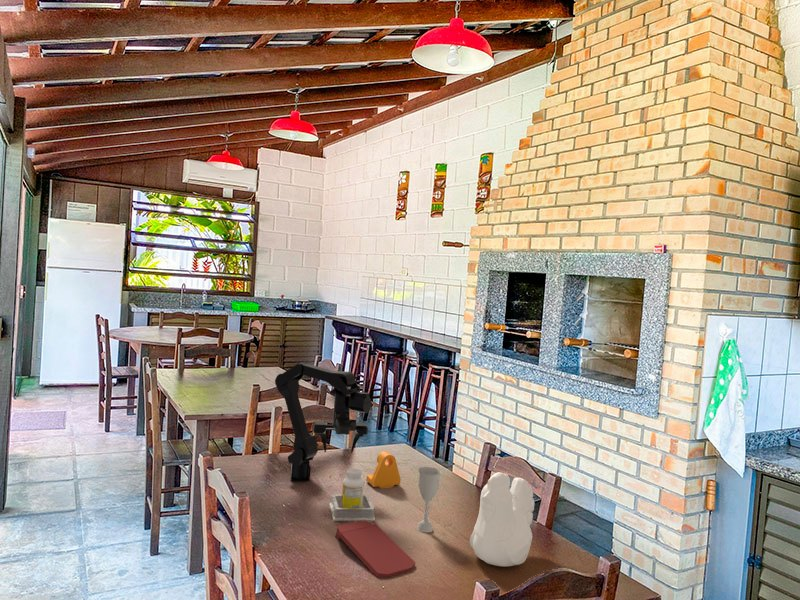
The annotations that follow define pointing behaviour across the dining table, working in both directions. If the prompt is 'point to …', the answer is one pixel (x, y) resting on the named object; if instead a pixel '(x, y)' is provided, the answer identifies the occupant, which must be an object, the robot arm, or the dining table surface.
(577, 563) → the dining table surface
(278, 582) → the dining table surface
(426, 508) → the chalice
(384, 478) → the bracket
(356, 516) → the square shallow tray
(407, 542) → the dining table surface
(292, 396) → the robot arm
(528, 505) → the white bunny figurine
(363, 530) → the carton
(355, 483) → the supplement bottle
